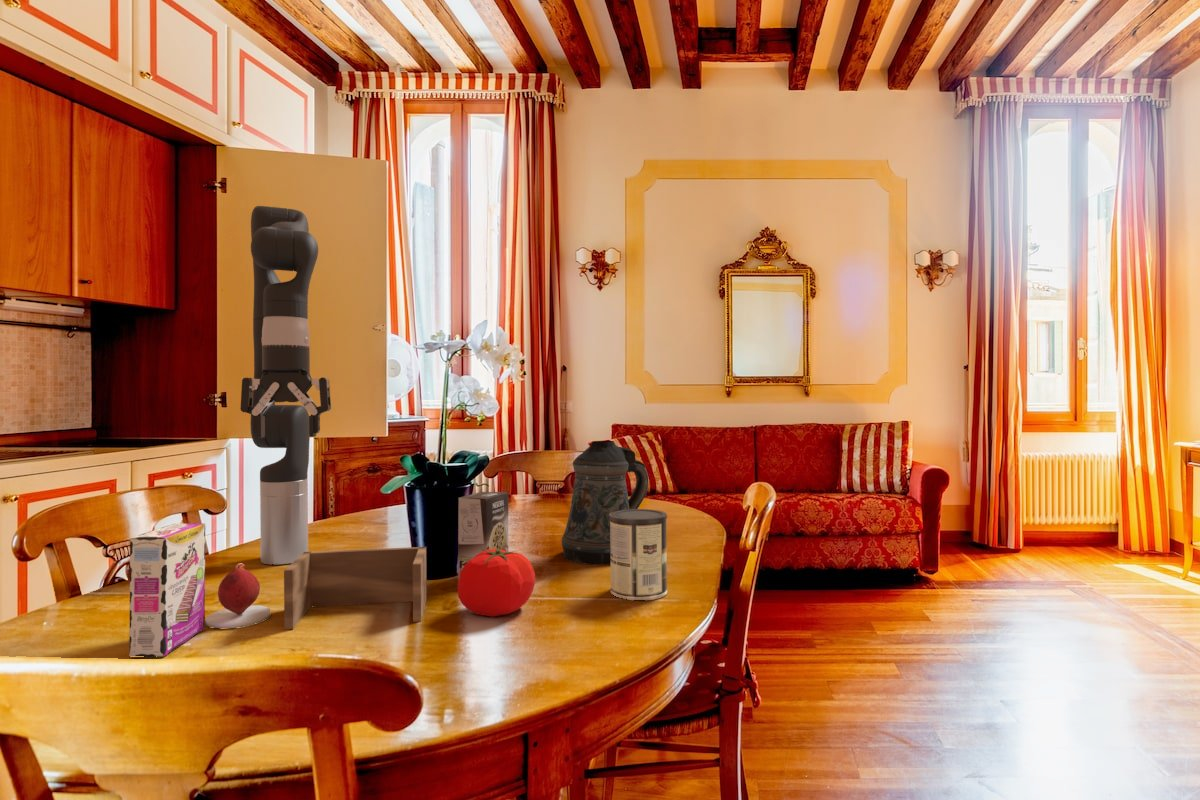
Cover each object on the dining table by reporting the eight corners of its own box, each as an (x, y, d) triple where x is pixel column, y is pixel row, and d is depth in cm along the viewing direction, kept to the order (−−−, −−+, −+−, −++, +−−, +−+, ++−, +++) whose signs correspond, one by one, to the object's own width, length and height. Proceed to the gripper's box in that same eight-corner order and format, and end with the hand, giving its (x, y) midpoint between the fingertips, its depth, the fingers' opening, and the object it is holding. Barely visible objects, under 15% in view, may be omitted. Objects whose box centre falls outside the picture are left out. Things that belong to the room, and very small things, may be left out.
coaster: (218, 611, 110) (218, 607, 110) (277, 608, 112) (277, 603, 112) (196, 631, 101) (196, 625, 101) (260, 627, 103) (260, 621, 103)
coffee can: (634, 580, 127) (634, 506, 127) (678, 591, 120) (678, 513, 120) (597, 592, 120) (597, 514, 120) (642, 605, 113) (642, 521, 113)
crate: (304, 605, 113) (304, 552, 113) (426, 598, 117) (426, 546, 117) (284, 629, 101) (283, 570, 101) (421, 621, 105) (420, 564, 105)
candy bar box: (166, 658, 91) (165, 537, 91) (127, 659, 90) (126, 538, 90) (208, 629, 102) (206, 521, 102) (173, 630, 102) (172, 522, 101)
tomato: (452, 606, 112) (451, 545, 112) (525, 597, 117) (525, 538, 117) (466, 628, 102) (466, 560, 102) (546, 617, 107) (545, 552, 107)
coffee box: (487, 585, 125) (486, 498, 124) (457, 582, 127) (456, 496, 127) (510, 573, 133) (509, 491, 133) (481, 570, 135) (481, 490, 135)
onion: (241, 621, 103) (241, 569, 103) (209, 619, 104) (208, 567, 104) (267, 609, 109) (267, 560, 109) (236, 607, 110) (236, 558, 110)
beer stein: (546, 558, 145) (545, 442, 145) (597, 541, 161) (597, 437, 161) (609, 569, 136) (609, 445, 135) (657, 550, 152) (657, 439, 151)
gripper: (333, 346, 122) (334, 435, 123) (249, 345, 120) (250, 436, 120) (324, 343, 115) (325, 437, 115) (234, 342, 112) (235, 439, 113)
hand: (286, 437), depth 118 cm, fingers open, 8 cm apart
